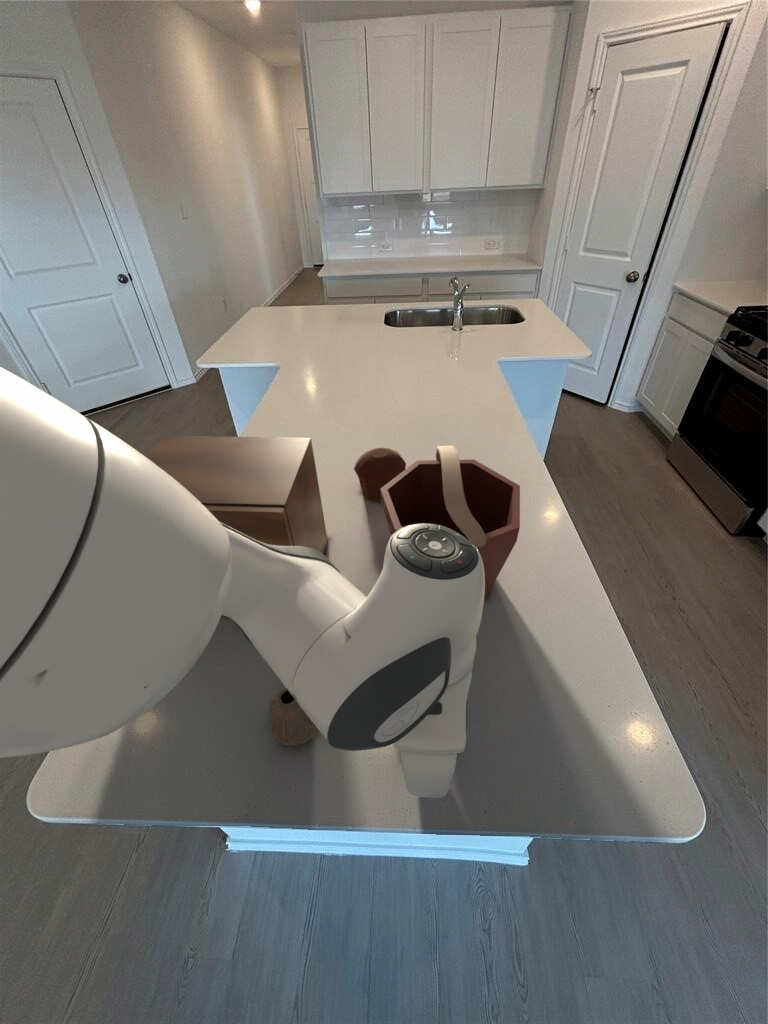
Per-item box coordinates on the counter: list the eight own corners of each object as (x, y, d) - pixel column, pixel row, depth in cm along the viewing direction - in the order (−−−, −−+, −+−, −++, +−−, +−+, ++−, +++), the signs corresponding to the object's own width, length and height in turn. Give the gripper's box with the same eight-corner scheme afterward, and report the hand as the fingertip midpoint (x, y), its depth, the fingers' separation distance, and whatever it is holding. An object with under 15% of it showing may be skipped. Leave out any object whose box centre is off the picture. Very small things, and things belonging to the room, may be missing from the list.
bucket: (500, 642, 70) (528, 528, 54) (367, 619, 75) (356, 506, 58) (504, 538, 88) (526, 429, 72) (397, 524, 93) (395, 418, 76)
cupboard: (309, 611, 76) (284, 504, 61) (166, 605, 78) (107, 500, 63) (327, 539, 90) (311, 437, 74) (205, 535, 92) (164, 435, 76)
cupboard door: (301, 643, 71) (272, 538, 56) (148, 635, 73) (80, 532, 58) (309, 612, 76) (284, 506, 61) (165, 605, 78) (106, 502, 63)
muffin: (389, 470, 108) (388, 434, 102) (415, 492, 101) (416, 455, 94) (347, 486, 103) (343, 450, 97) (371, 511, 96) (369, 474, 90)
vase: (328, 706, 63) (321, 674, 58) (316, 757, 58) (306, 728, 52) (282, 700, 64) (270, 668, 59) (266, 749, 59) (251, 720, 53)
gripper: (401, 575, 52) (403, 641, 61) (391, 761, 37) (395, 812, 46) (455, 577, 52) (448, 643, 61) (467, 766, 36) (456, 816, 45)
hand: (425, 717), depth 53 cm, fingers open, 8 cm apart
